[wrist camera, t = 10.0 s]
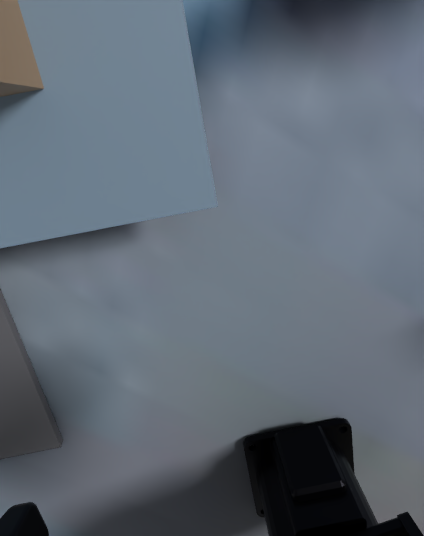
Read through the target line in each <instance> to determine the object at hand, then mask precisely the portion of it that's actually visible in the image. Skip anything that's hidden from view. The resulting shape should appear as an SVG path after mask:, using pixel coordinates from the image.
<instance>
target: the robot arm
mask: <svg viewBox="0 0 424 536" xmlns="http://www.w3.org/2000/svg"><path fill="white" fill-rule="evenodd" d="M343 426H344V427H343ZM341 427H343V428H341ZM252 444H254V445H253V446H250V445H252ZM243 445H244V450H245V455H246V460H247V465H248V470H249V475H250V480H251V486H252V491H253V496H254V501H255V506H256V511H257V514H258V515H259V516H261V517H265V520H266V525H267V529H268V534H269V536H423V534H422V533H421V531H420V530H419V528H418V527H417V525H416V524H415V522H414V521H413V519H412V518H411V516H410V515H409V513H408V512H405V513H402V514H399V515H397V518H394V519H391V520H388V521H386V522H383V523H380V524H378V522H377V520H376V518H375V516H374V514H373V512H372V510H371V508H370V506H369V504H368V502H367V499H366V497H365V495H364V493H363V491H362V489H361V487H360V485H359V483H358V481H357V479H356V477H355V475H354V462H353V446H352V430H351V426H350V424H349V422H348V421H347V420H346V419H344V418H340V419H335V420H330V421H325V422H320V423H315V424H310V425H305V426H300V427H295V428H290V429H285V430H280V431H275V432H270V433H265V434H260V435H255V436H250V437H247V438H246V439H245V440H244V443H243ZM0 536H49V533H48V529H47V526H46V524H45V522H44V520H43V518H42V516H41V514H40V512H39V510H38V508H37V506H36V504H34V503H33V502H28V503H23V504H18V505H14V506H12V507H11V508H10V509H8V510H7V512H6V513H5V514H4V515H3V516H2V517H1V518H0Z"/></svg>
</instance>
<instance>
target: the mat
mask: <svg viewBox="0 0 424 536" xmlns="http://www.w3.org/2000/svg"><path fill="white" fill-rule="evenodd" d="M62 442H63V439H62V437H61V434H60V432H59V429H58V427H57V425H56V422H55V420H54V417H53V415H52V413H51V410H50V408H49V405H48V403H47V400H46V398H45V396H44V393H43V391H42V388H41V386H40V383H39V381H38V379H37V376H36V374H35V371H34V369H33V367H32V364H31V362H30V359H29V357H28V354H27V352H26V350H25V347H24V345H23V342H22V340H21V338H20V335H19V333H18V330H17V328H16V325H15V323H14V321H13V318H12V316H11V313H10V311H9V308H8V306H7V304H6V301H5V299H4V296H3V294H2V292H1V289H0V459H4V458H9V457H14V456H19V455H24V454H29V453H34V452H39V451H44V450H49V449H54V448H59V447H61V445H62Z"/></svg>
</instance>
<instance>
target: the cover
mask: <svg viewBox="0 0 424 536" xmlns="http://www.w3.org/2000/svg"><path fill="white" fill-rule="evenodd" d="M214 207H218V204H217V198H216V192H215V186H214V181H213V175H212V169H211V163H210V157H209V152H208V146H207V140H206V134H205V128H204V123H203V117H202V111H201V105H200V99H199V94H198V88H197V82H196V76H195V70H194V65H193V59H192V53H191V47H190V41H189V36H188V30H187V24H186V18H185V13H184V7H183V1H182V0H0V248H5V247H10V246H15V245H20V244H26V243H31V242H36V241H41V240H47V239H52V238H57V237H62V236H67V235H73V234H78V233H83V232H88V231H94V230H99V229H104V228H109V227H114V226H120V225H125V224H130V223H135V222H140V221H146V220H151V219H156V218H161V217H167V216H172V215H177V214H182V213H187V212H193V211H198V210H203V209H208V208H214Z"/></svg>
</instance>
